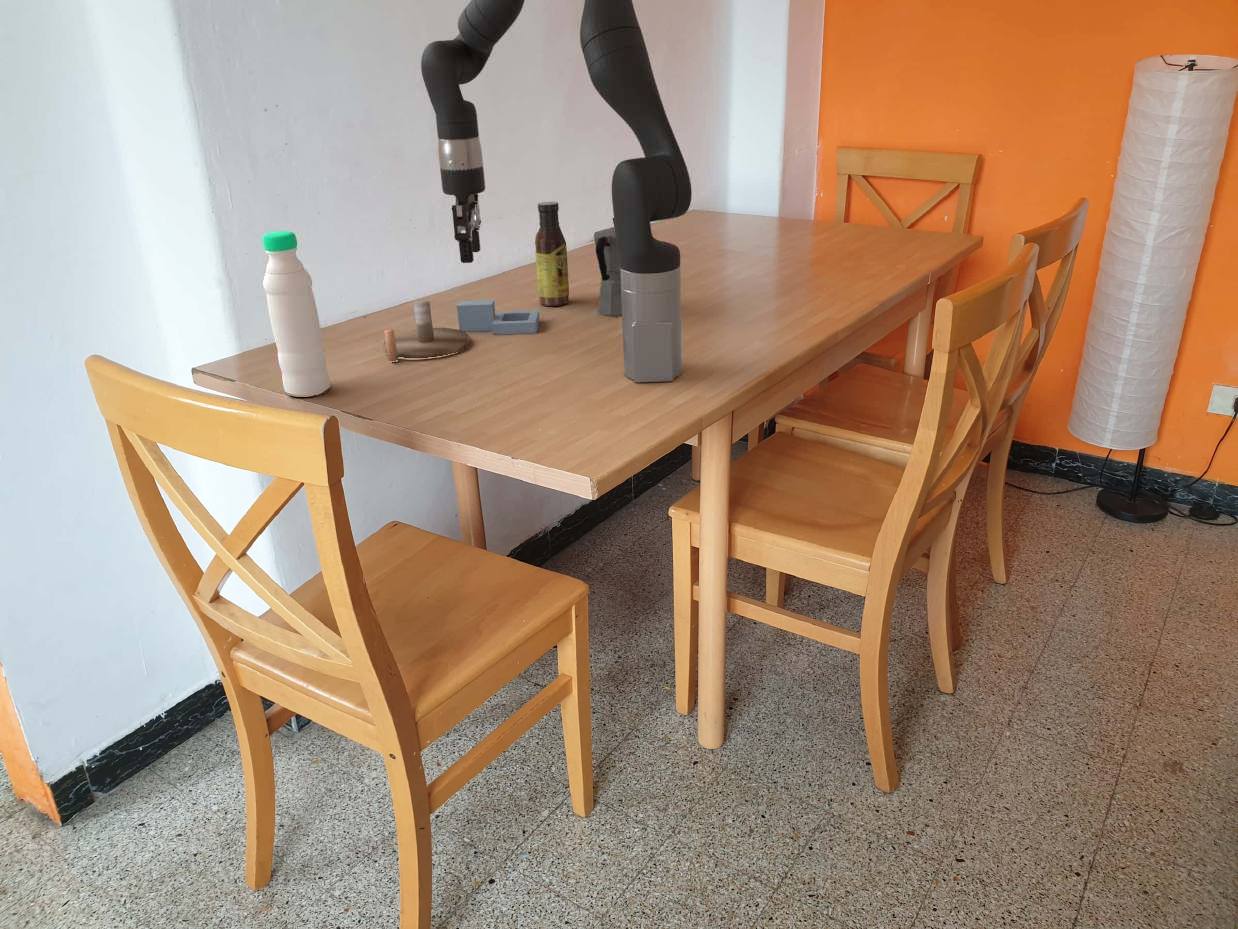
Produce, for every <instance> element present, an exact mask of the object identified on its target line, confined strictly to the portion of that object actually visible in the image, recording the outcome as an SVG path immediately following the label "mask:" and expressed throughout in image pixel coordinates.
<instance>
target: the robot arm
mask: <svg viewBox="0 0 1238 929" xmlns="http://www.w3.org/2000/svg"><path fill="white" fill-rule="evenodd" d="M524 4H525V0H470V1H469V2H468V4H467V5H466V7H465V8H464V9H463V10H462V12H461V13H460V15H459V17H458V20H457V28H458V32H459V33H458V35H456V37H454V38H453V39H450V40H449V39H446V40H445V39H444V40H434V41H432V42H430V43H428V44H427V46H426V47H425V48H424V49H423V52H422V55H421V61H420V68H421V70H420V71H421V75H422V79H423V82H424V86H425V88H426V92H427V95H428V97H429V101H430V104H431V105H432V108H433V111H434V113H435V122H436V133H437V138H438V139H437V140H438V141H437V142H438V145H437V146H438V148H437V149H438V154H437V155H438V162H439V169H440V172H439V173H440V178H441V179H440V180H441V188H442V193H443V194H445V195H448V196H454V197H455V205H454V204H452V206H451V212H452V221H453V229H454V230H453V233H454V240H455V241H457V243H458V248H459V257H460V258H459V259H460V262H461V263H462V264H469V263H470V264H471V263H473V262H474V253H479V252H480V251H481V240H480V239H481V238H480V229H481V226H480V225H481V224H482V220H481V213H480V205H479V204H480V203H479V194H480V193H483V192H485V190H486V180H485V172H484V171H485V170H484V159H483V151H482V145H481V141H480V137H479V136H480V133H479V122H478V114H477V109H476V106H475V105H474V103H473V102H471V101H469V100H466V99H465V98H464V97H463V94H462V91H461V90H462V89H461V87H460V86H461V85H465V84H468V83H471V82H472V81H474V79H476V78H477V77H478V76H479V75H480V73H482V71H483V70H484V68H485V66H486V64H487V63H488V60H489V58H490V56H491V54H492V51H493V50H494V47H495V46H496V44H497V43H498V42H499V41H500V40H501V39H502V37H503V36H504V35H505V34H506V33H507V31H508V30H509V29H510V28H511V27H512V26H513V24H514V23H515V22H516V20H517V19H518V17H519V15H520V13H522V12H521V11H522V10H523V7H524ZM582 10H583V11H582V15H581V21H580V28H579V41H580V42H579V43H580V47H581V50H582V54H583V58H584V61H585V64H586V65H585V66H586V68H587V71H588V75H589V78H590V82H591V83H592V86H594V89H595V91H596V92H597V93H598V94H599V96H600V97H601V98H602V99H603V100H604V101H605V103H607V105H608V106H609V107H610V109H612V110H613V111H614V112H615V113H616V114H617V115H618V116H619V117H620V118H621V119H622V120H623V121H624V122H625V123H626V124H627V126H628V127H629V128H630V129H631V131H632V132H633V133H634V135H635V137H636V139H637V141H638V142H639V145H640V147H641V149H642V153H643V154H644V155H643V156H644V157H636V158H629V159H625V160H622V161H620V162H619V163H618V164H617V165H616V166H615V168H614V171H613V174H612V178H611V179H612V180H611V202H612V211H613V218H614V223H615V237H616V245H617V249H618V253H619V257H620V273H621V301H622V317H621V318H622V322H621V323H622V324H621V325H622V345H623V347H622V348H623V364H624V366H623V367H624V368H623V369H624V376H626V377H627V378H628V379H631V380H632V381H633V383H654V382H655V383H656V382H658V383H659V382H674V379H675V378H678V377H679V376H680V375H681V374H682V363H683V362H682V361H683V360H682V359H683V358H682V353H683V352H682V308H681V307H682V304H681V303H682V302H681V301H682V298H681V297H682V292H681V288H682V287H681V285H682V284H681V283H682V282H681V281H682V280H681V279H682V278H681V277H682V276H681V251H680V248H679V247H678V246H677V245H676V244H674V243H671V242H666V241H663V240H659V239H657V238H655V237H654V236H653V233H652V228H651V227H652V226H651V225H652V224H651V222H657V221H663V220H669V219H675V218H679V217H681V216H685V214H686V213H687V212H688V210H689V208H690V207H691V203H692V195H693V194H692V192H693V191H692V184H691V183H692V182H691V177H690V174H689V170H688V166H687V163H686V162H685V159H684V156H683V154H682V150H681V149H680V148H681V147H680V146H679V143H678V141H677V139H676V137H675V133H674V131H673V129H672V126H671V124H670V121H669V119H668V116H667V114H666V110H665V106H664V104H663V101H662V98H661V95H660V92H659V89H658V85H657V82H656V80H655V75H654V70H653V67H652V64H651V61H650V56H649V53H648V49H647V47H646V42H645V40H644V39H645V38H644V34H643V32H642V29H641V26H640V24H639V21H638V18H637V15H636V11H635V6H634V4H633V0H584V3H583V9H582ZM614 223H613V224H614ZM462 231H465V232H462Z"/></svg>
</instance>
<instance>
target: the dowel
mask: <svg viewBox="0 0 1238 929" xmlns="http://www.w3.org/2000/svg"><path fill="white" fill-rule="evenodd" d="M383 332H384V340H385V341H386V346H387V353H388V356H387V360H388V362H389V361H396V360H398V361H399V359H398V355H397V348H396V341H395V335H396V334H395V330H394V329H391V328H390V329H385V330H384V331H383Z"/></svg>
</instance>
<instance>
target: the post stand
mask: <svg viewBox="0 0 1238 929" xmlns="http://www.w3.org/2000/svg"><path fill="white" fill-rule="evenodd" d="M430 303H431V302H430V301H428V300H418V301H415V302H413V304H412V305H413V311H414V312H413V313H414V320H415V327H416V329H412V330H408V331H405V332H404V331H403V332H401V333H397V334H395V341H396V348H397V355H398V357H404V358H428V357H437V356H443V355H448V354H452V353H456V352H459V351H461V350H463V349H465V348H466V347H467V346H468V345H469V346H470V338H469V334H468V333H466V332H464V331H461V330H459V329H455V328H449V327H433V321H432V320H433V318H432V313H431V312H432V311H431V304H430ZM469 346H468V347H469ZM468 347H467V348H468ZM467 348H466V349H467ZM466 349H465V350H466ZM384 350H385V352H386V353H387V346H386V340H385V341H384V342H383V351H384ZM463 351H464V350H463ZM385 352H384V353H385ZM461 352H462V351H461ZM459 353H460V352H459Z"/></svg>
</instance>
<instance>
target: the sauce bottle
mask: <svg viewBox="0 0 1238 929" xmlns="http://www.w3.org/2000/svg"><path fill="white" fill-rule="evenodd" d="M559 210H560V207H559V202H557V201H543V202H539V203H537V211H538V213H539V214H538V215H539V217H538V218H539V228H538V232H536V235H535V238H534V239H535V241H534V244H535V264H536V265H535V266H536V279H537V281H536V282H537V293H538V294H537V295H538V298H539V299H538V301H539V304H540V305H542V306H545V307H557V306H562V305H566V304H567V303H568V302H569V300H570V298H569V296H570V284H569V281H570V280H569V268H568V266H569V265H568V253H567V252H568V251H567V250H568V248H567V242H566V238H565V236H564V233H563V232H562V230H561V226H560V222H559Z"/></svg>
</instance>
